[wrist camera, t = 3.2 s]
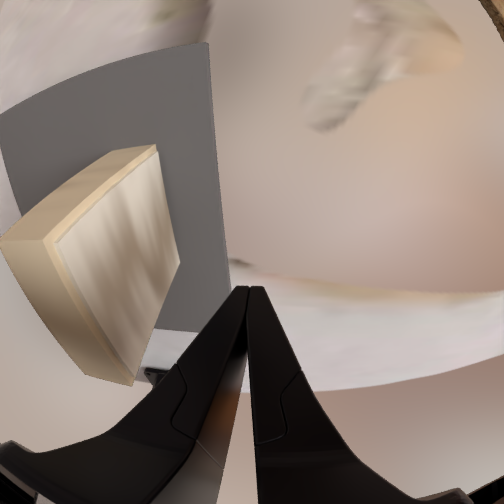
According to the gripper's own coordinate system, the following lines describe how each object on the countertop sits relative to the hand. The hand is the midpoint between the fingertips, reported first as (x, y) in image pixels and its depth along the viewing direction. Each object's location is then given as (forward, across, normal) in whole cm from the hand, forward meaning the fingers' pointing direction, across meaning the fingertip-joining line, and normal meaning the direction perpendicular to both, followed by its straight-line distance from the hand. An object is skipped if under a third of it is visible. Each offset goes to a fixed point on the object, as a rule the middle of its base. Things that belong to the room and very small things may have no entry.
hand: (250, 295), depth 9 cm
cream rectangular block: (+6, +6, 0) cm, 8 cm away
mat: (+6, +10, +1) cm, 12 cm away
